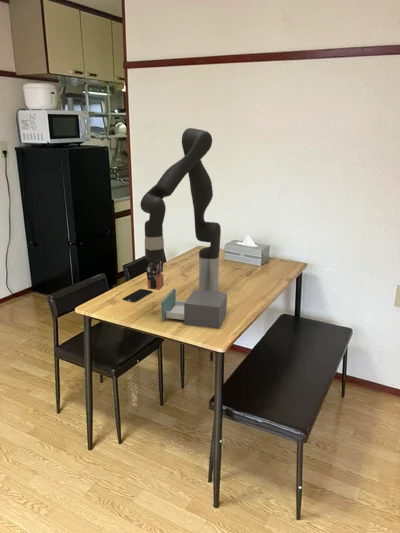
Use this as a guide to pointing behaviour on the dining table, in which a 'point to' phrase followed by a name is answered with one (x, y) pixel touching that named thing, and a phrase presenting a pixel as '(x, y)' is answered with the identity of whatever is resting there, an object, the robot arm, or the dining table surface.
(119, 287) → the dining table surface
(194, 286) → the dining table surface
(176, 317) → the drawer
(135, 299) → the smartphone
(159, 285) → the block
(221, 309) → the housing
